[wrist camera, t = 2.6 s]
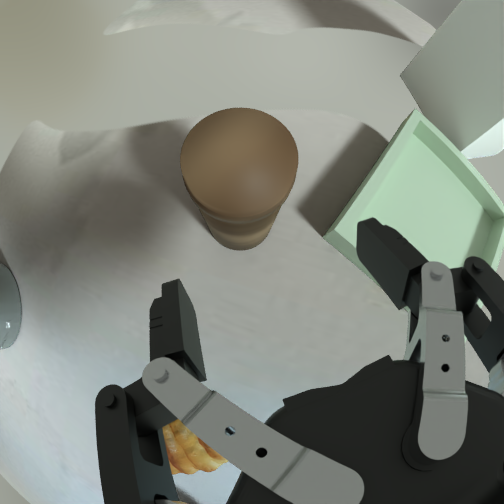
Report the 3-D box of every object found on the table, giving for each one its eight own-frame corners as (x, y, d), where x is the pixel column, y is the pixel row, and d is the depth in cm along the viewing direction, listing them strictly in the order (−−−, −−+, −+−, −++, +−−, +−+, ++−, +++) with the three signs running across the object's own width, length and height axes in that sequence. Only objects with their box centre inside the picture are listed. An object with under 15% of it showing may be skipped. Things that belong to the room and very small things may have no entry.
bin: (322, 237, 22) (334, 229, 19) (402, 123, 24) (415, 108, 21) (442, 344, 22) (461, 349, 19) (494, 222, 24) (511, 216, 21)
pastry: (150, 470, 19) (139, 492, 15) (115, 413, 20) (97, 429, 16) (242, 449, 20) (243, 473, 16) (209, 386, 21) (203, 403, 17)
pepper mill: (193, 223, 22) (153, 164, 11) (235, 175, 23) (232, 89, 12) (245, 265, 22) (248, 239, 11) (286, 214, 23) (323, 150, 12)
